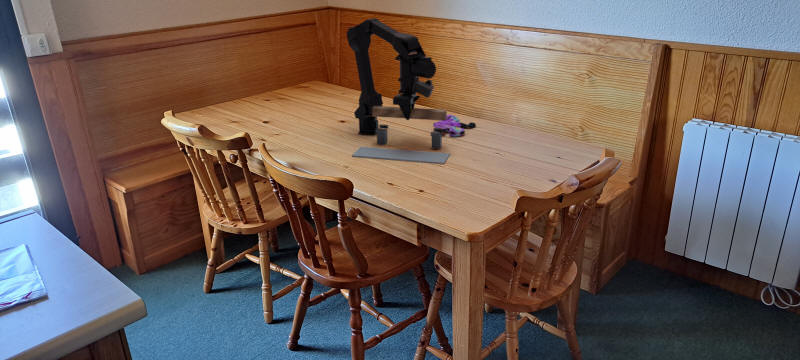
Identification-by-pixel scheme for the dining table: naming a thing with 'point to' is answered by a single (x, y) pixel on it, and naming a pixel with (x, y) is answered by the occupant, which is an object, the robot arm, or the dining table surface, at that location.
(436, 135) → the grey block
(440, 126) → the decorative sculpture
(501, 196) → the dining table surface
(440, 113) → the rail
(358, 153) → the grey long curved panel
